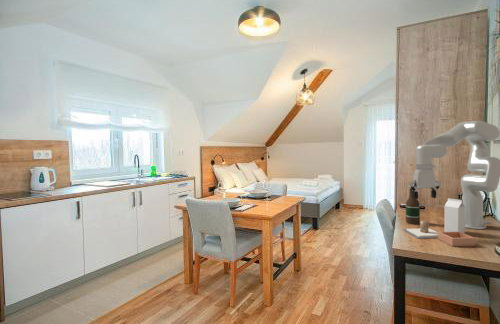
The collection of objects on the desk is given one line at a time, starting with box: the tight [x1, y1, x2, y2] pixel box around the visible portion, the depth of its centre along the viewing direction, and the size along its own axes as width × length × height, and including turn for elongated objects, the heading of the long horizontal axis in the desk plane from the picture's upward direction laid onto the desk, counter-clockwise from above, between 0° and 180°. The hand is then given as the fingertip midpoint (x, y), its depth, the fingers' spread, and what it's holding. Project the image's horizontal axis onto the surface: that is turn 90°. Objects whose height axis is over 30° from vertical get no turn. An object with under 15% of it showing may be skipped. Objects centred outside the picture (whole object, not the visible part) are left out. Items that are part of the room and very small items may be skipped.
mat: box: [402, 228, 438, 240], centre depth 156 cm, size 16×16×1 cm
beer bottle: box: [405, 185, 421, 225], centre depth 178 cm, size 8×8×24 cm
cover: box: [406, 219, 439, 237], centre depth 156 cm, size 13×13×7 cm
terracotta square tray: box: [437, 231, 476, 248], centre depth 141 cm, size 11×11×4 cm
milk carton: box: [443, 197, 466, 234], centre depth 157 cm, size 7×7×19 cm
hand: (424, 198), depth 155 cm, fingers open, 9 cm apart
